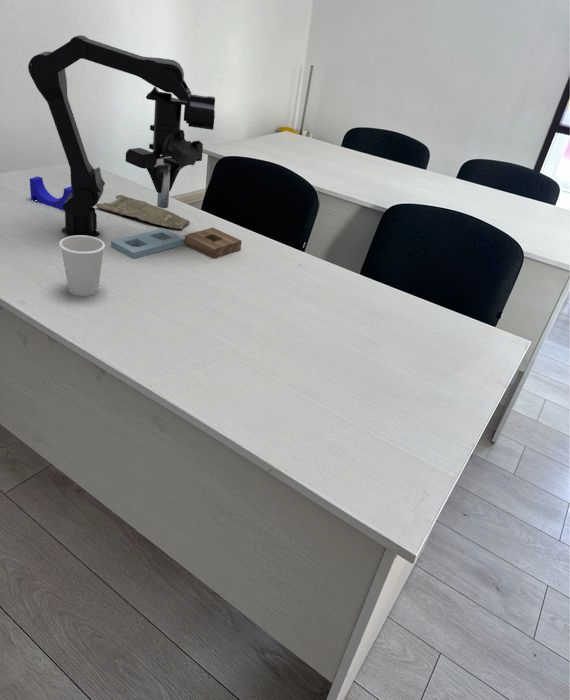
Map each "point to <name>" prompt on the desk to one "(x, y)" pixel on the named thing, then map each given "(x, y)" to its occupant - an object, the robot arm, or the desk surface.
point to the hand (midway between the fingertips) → (163, 191)
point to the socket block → (212, 242)
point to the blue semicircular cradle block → (47, 194)
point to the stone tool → (144, 212)
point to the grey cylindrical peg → (165, 188)
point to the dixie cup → (82, 263)
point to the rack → (147, 243)
